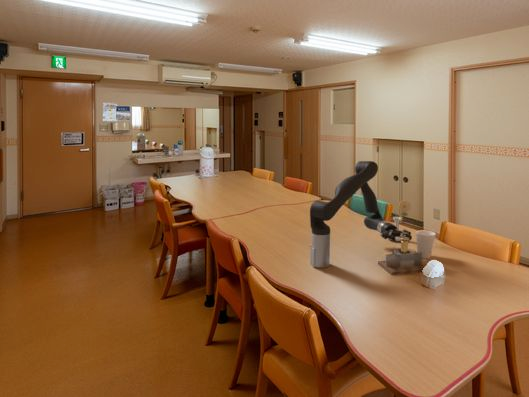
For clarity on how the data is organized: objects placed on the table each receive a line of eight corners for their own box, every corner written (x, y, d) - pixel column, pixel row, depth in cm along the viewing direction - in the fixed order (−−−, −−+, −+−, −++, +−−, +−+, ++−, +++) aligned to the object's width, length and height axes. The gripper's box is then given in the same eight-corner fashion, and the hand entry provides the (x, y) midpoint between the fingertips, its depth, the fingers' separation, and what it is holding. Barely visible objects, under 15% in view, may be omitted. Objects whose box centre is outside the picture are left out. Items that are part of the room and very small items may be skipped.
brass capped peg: (401, 266, 180) (403, 239, 177) (397, 263, 183) (399, 237, 180) (408, 265, 180) (410, 238, 177) (404, 263, 184) (406, 236, 181)
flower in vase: (387, 242, 219) (390, 201, 214) (384, 236, 230) (386, 197, 225) (410, 243, 217) (413, 202, 212) (406, 237, 228) (409, 198, 223)
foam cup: (436, 255, 197) (438, 232, 194) (430, 260, 190) (432, 236, 187) (418, 251, 203) (420, 229, 200) (411, 256, 196) (413, 233, 194)
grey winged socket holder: (389, 269, 177) (389, 255, 175) (382, 263, 183) (382, 250, 182) (425, 266, 180) (426, 252, 178) (417, 260, 186) (417, 247, 185)
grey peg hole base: (391, 275, 174) (391, 272, 173) (377, 263, 187) (378, 261, 187) (430, 271, 177) (430, 268, 176) (413, 260, 190) (414, 258, 190)
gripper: (375, 223, 194) (389, 232, 179) (399, 221, 197) (416, 230, 181) (374, 236, 196) (389, 246, 180) (399, 234, 198) (415, 244, 183)
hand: (402, 238), depth 181 cm, fingers open, 8 cm apart
